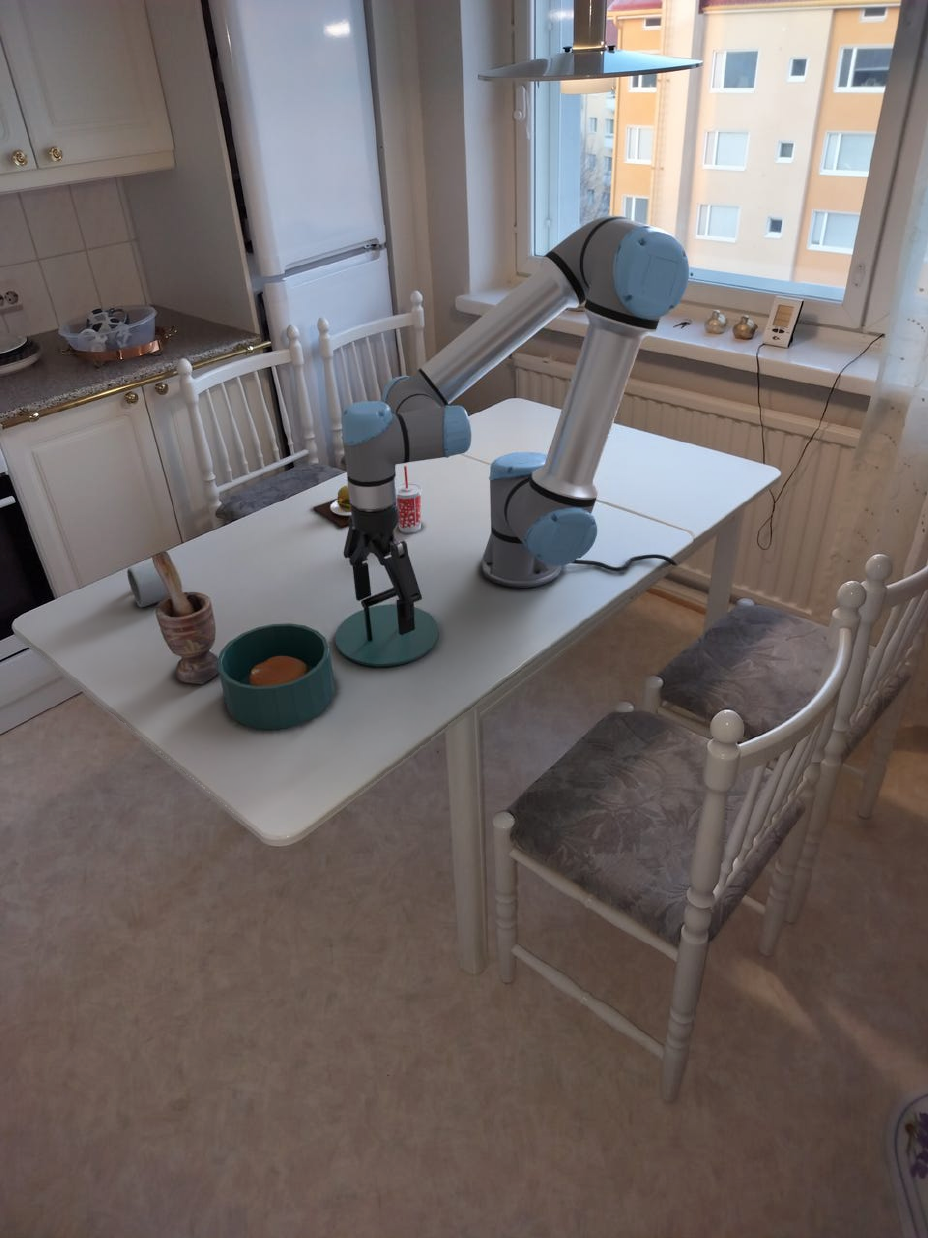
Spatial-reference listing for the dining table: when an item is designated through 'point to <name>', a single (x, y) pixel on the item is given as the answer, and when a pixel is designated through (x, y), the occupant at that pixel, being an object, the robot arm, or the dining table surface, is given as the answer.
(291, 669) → the burger
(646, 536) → the dining table surface
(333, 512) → the hamburger
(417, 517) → the beverage cup
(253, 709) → the pot
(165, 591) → the ceramic mug
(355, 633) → the lid
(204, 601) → the mortar and pestle
